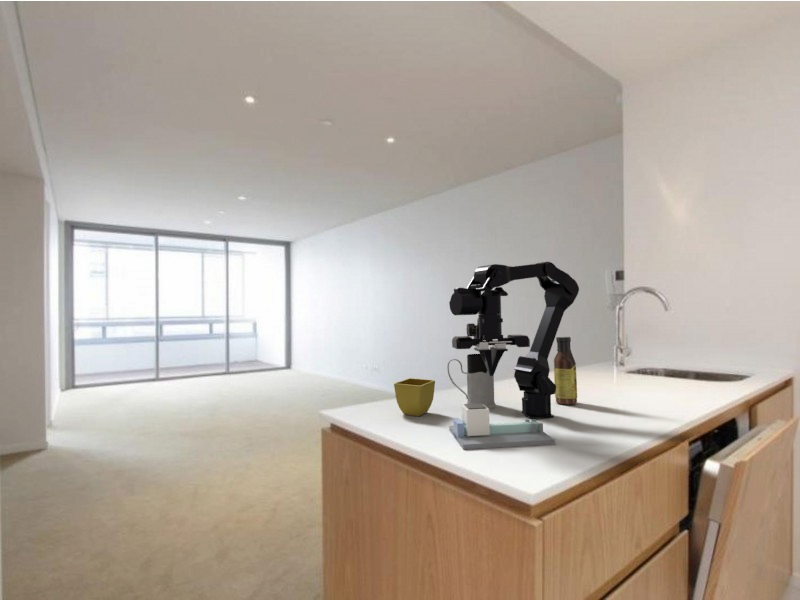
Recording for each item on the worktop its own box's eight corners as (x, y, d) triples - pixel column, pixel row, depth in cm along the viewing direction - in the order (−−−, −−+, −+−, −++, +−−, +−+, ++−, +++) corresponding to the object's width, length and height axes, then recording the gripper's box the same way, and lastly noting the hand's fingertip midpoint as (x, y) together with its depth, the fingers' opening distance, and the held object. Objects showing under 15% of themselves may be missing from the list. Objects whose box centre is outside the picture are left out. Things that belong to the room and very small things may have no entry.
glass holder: (495, 409, 123) (493, 357, 123) (445, 407, 127) (444, 356, 127) (496, 402, 131) (495, 353, 131) (450, 400, 135) (449, 353, 135)
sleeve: (483, 428, 100) (482, 402, 100) (489, 434, 95) (489, 407, 95) (462, 429, 100) (461, 403, 100) (467, 436, 95) (466, 408, 95)
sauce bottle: (580, 405, 125) (579, 337, 126) (559, 405, 125) (557, 337, 126) (572, 400, 132) (570, 335, 132) (551, 400, 132) (550, 336, 132)
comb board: (529, 425, 106) (528, 409, 106) (554, 444, 92) (554, 425, 92) (449, 430, 104) (448, 413, 104) (463, 449, 90) (462, 430, 90)
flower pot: (421, 419, 114) (420, 385, 114) (393, 415, 119) (393, 383, 119) (436, 412, 122) (435, 380, 122) (410, 408, 126) (409, 377, 126)
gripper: (513, 312, 118) (515, 369, 118) (447, 314, 116) (448, 372, 116) (529, 313, 107) (531, 376, 107) (456, 315, 105) (457, 379, 105)
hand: (491, 375), depth 109 cm, fingers closed
